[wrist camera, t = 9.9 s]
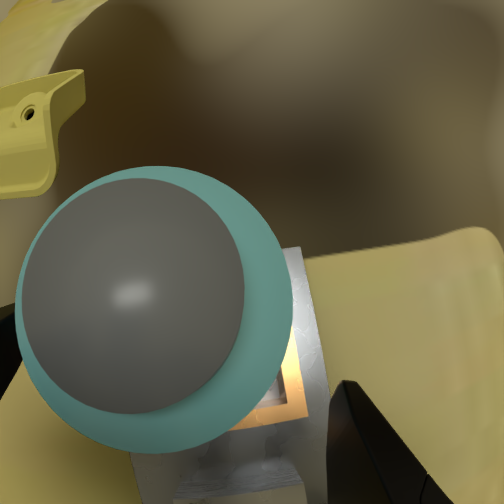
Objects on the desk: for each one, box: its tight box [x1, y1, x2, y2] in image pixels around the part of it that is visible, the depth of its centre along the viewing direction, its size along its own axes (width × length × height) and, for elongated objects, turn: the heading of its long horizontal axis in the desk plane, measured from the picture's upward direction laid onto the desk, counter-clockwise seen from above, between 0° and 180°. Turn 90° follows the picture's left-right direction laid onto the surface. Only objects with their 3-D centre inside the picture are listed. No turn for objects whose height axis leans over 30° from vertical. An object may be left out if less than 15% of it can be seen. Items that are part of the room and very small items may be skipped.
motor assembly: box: [129, 247, 331, 504], centre depth 11 cm, size 23×11×8 cm, turn 10°
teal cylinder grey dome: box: [15, 166, 293, 454], centre depth 10 cm, size 5×5×12 cm
